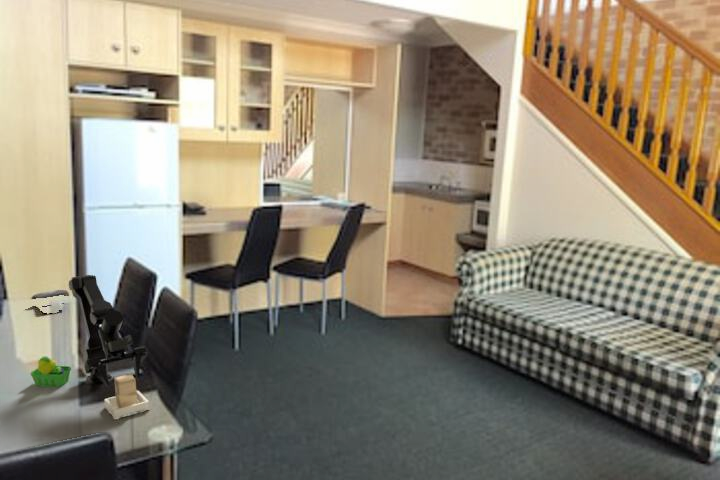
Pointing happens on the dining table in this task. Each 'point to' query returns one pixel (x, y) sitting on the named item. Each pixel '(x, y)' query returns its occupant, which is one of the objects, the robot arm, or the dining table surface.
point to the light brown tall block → (125, 391)
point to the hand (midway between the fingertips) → (123, 382)
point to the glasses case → (51, 294)
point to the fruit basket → (50, 373)
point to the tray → (115, 412)
